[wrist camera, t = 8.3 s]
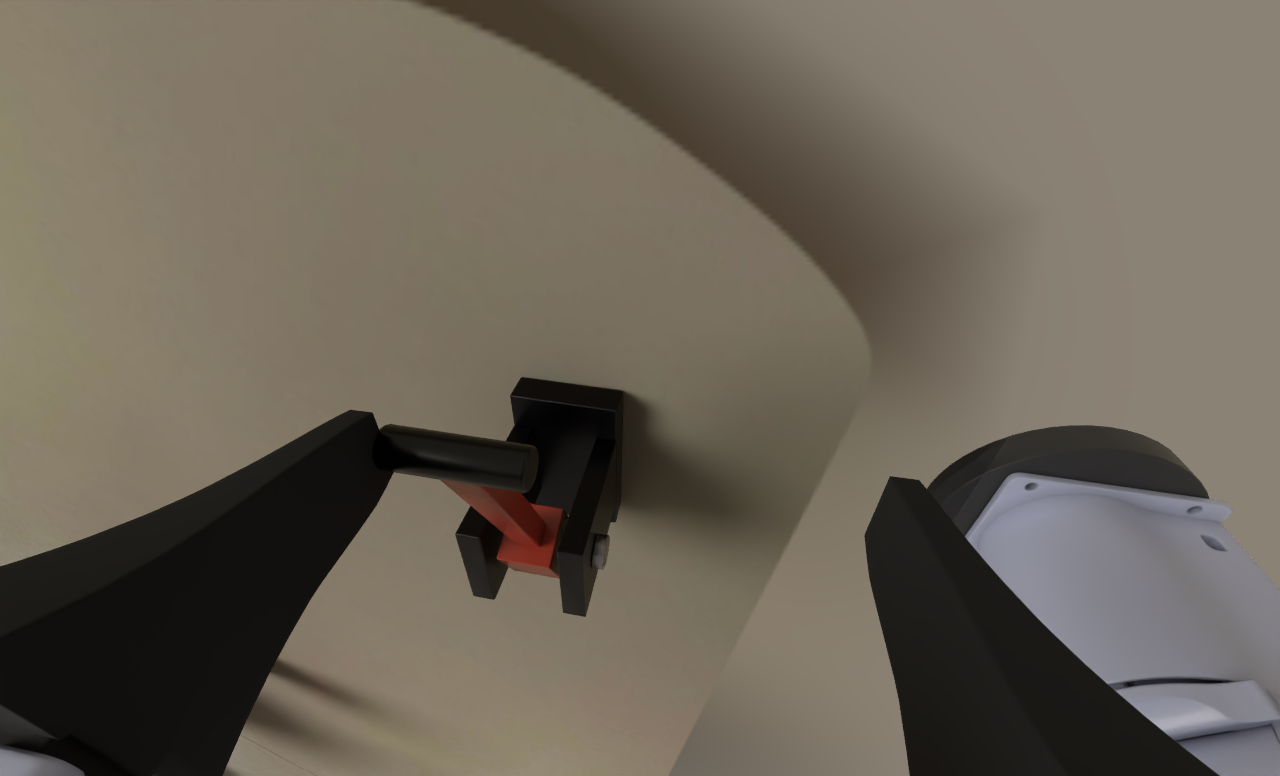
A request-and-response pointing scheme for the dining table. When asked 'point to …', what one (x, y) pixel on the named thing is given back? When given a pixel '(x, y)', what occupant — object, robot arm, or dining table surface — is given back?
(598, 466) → the bracket
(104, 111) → the dining table surface
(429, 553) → the dining table surface
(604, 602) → the dining table surface
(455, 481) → the lever
